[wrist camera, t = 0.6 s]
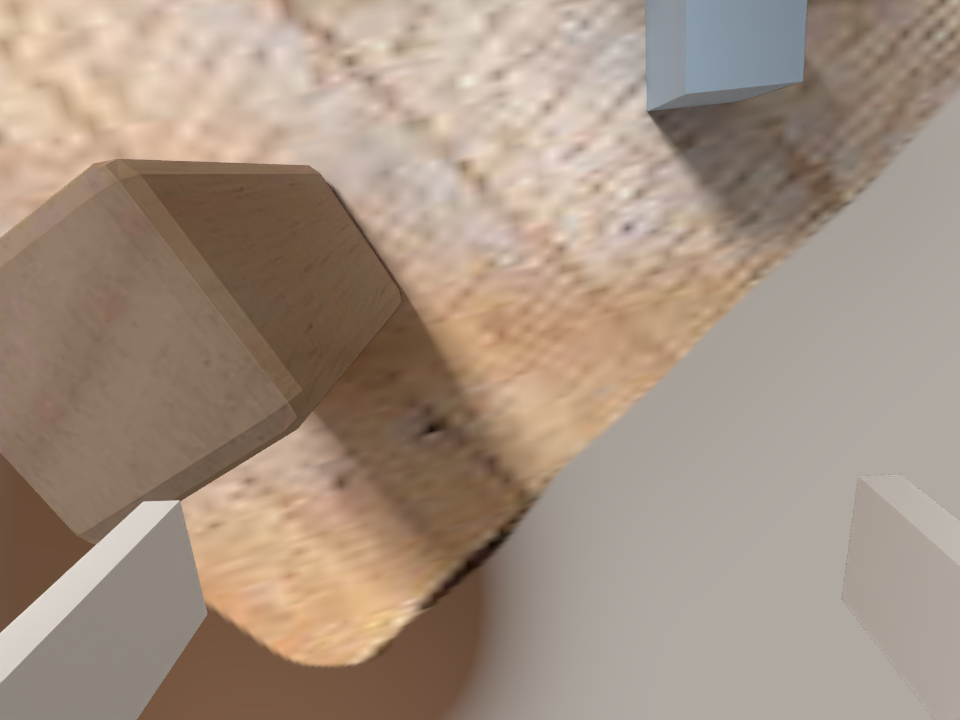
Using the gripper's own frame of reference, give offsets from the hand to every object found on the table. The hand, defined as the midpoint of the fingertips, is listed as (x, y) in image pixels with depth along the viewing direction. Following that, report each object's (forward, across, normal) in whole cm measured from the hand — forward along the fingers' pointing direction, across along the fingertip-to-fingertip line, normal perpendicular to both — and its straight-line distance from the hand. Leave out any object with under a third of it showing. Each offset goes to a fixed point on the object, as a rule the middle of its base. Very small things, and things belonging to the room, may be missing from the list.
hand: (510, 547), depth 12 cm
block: (+27, -13, +2) cm, 30 cm away
